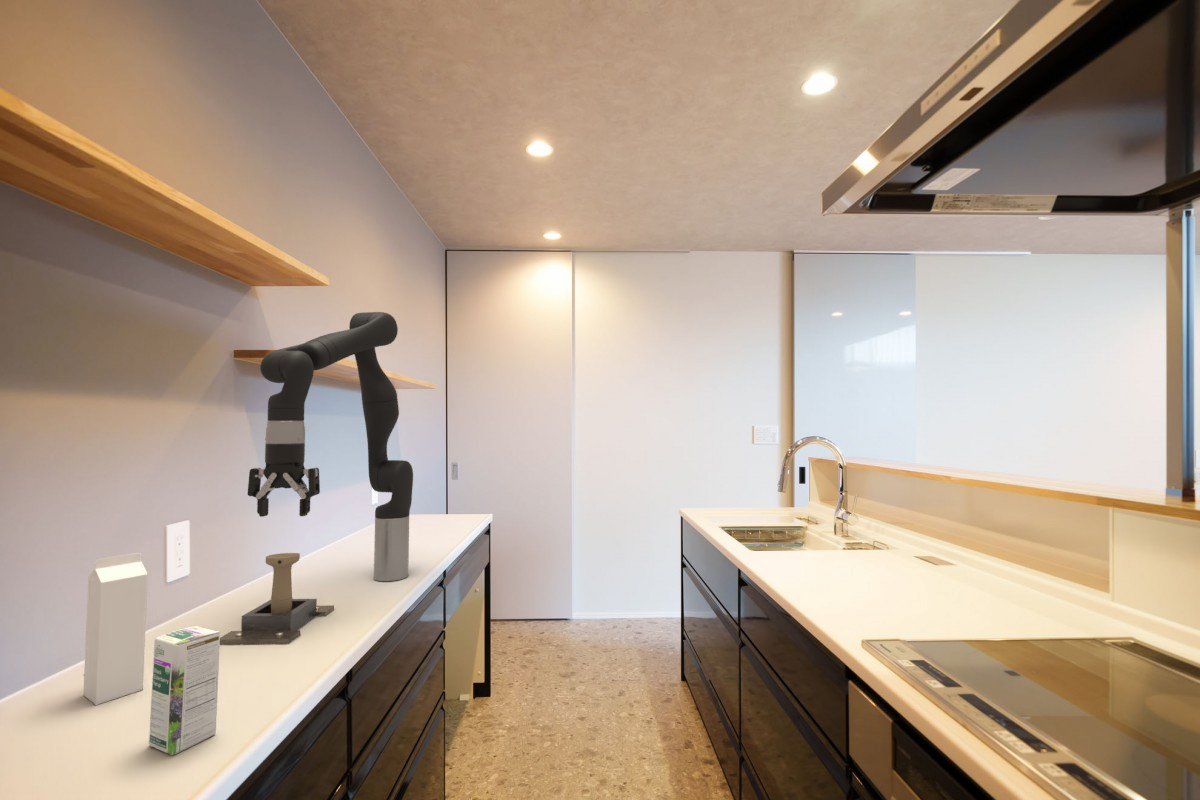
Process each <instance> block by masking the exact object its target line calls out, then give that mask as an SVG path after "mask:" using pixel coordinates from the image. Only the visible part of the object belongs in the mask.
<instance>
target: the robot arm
mask: <svg viewBox="0 0 1200 800" xmlns="http://www.w3.org/2000/svg"><path fill="white" fill-rule="evenodd" d="M398 329H399V328H398V324H397V320H396V319H395V317H394V316H392V314H390V313H387V312H382V311H371V312H370V311H368V312H357V313H355V314H352V316H351V318H350V321H349V329H346V330H340V331H336V332H331V333H326V334H323V335H320V336H318V337H315V338H313V339H309V340H307V341H305V342H304V343H300V344H296V345H292V346H287V347H283V348H280V349H276V350H273V351H271V352H269V353H268V354H266V355H265V356H264V357H263V358H262V360H261V362H260V367H259V369H260V373H261V375H262V376H263V377H264V378H265V379H266V380H267V381H268V382H272V383H276V384H283V386H282V388H281V391H280V392H278V393H275V394H272V395H270V396H269V398H268V401H267V422H266V423H267V424H266V428H265V439H264V440H265V443H264V444H265V448H264V464H265V467H264V468H261V467H254V468H251V469H249V474H248V483H247V496H248V497H253V498H256V499H257V500H256V502H257V503H256V506H257V507H256V509H257V510H256V512H257V514H258V515H259V517H262V518H263V517H267V516H268V515H269V502H270V501H269V497H268V496H269V495H271V492H273V491H274V490H275V489H281V488H283V489H292V490H293V491H294V492H296V494H297V495H298V496H299V497H300V499H299V512H298V514H299V516H300V517H305V516H308V514H309V513H310V511H311V499H312V497H314V496H317V495H319V494H320V493H321V489H320V488H321V487H320V485H321V482H320V468H319V467H311V468H305V465H304V464H305V456H306V454H305V452H306V448H305V447H306V427H305V402H306V400H307V397H308V393H309V391H310V387H311V384H312V381H313V379H314V378H313V377H314V371H319V370H322V369H325V368H326V367H329V366H332V365H333V364H336V363H338V362H339V361H342V360H343V359H346V358H349V357H350V356H353V355H354V357H355V362H356V363H355V364H356V368H357V372H358V378H359V379H358V380H359V385H360V392H361V402H362V403H361V404H362V410H363V417H364V422H365V430H366V431H365V432H366V439H367V442H366V443H367V459H368V461H367V462H368V463H367V465H368V466H367V467H368V477H369V483H370V487H371V489H372V490H373V491H375V492H379V493H391V498H390V500H389V501H388V502H386V503H383V504H381V505H378V506H377V507H376V508H375V511H374V550H373V551H374V552H373V554H374V555H373V579H374V581H377V582H396V581H400V580H403V579H406V578H408V576H409V558H410V555H409V553H410V542H409V541H410V510H411V506H412V503H413V502H412V500H413V487H414V486H413V485H414V483H413V482H414V471H413V467H412V465H411V464H412V463H410V462H409V461H408V460H399V459H396V460H394V459H389V458H388V442H389V438H390V436H391V434H392V432H393V430H394V428H395V426H396V424H397V422H398V419H399V414H400V407H399V401H398V393H397V391H396V388H395V386H394V384H393V382H392V381H391V380H390V378H389V377H388V376H387V374H386V373H385V372H384V370H383V369H382V367H381V365H380V364H379V361H378V358H377V352H376V348H378V347H384V346H385V347H386V346H388V345H390V344H392V343H394V341H395V340H396V338H397V335H398V332H399V331H398ZM304 476H305V477H306V479H308V481H307V482H308V485H307V484H306V483H305V481H304V480H303V478H304ZM263 477H265V478H266V480H265V482H264V483H263V484H262V486H261V481H262V478H263ZM307 486H308V487H307Z"/></svg>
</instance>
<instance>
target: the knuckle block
mask: <svg viewBox="0 0 1200 800" xmlns="http://www.w3.org/2000/svg"><path fill="white" fill-rule="evenodd" d="M317 600H318V599H317V598H292V608H291V611H290V612H289V613H271V599H270V600H268V601H266V602H264V603H262V604H261V605H259V606H257V607H255V608H254V609H251V610H250V611H248V612H246V613H245V614H243V615H241V625H240V626H241V627H240V629H241V630H230V631H229V632H228V633H226V634H224V635H222V636H220V646H222V645H223V646H228V645H229V646H231V645H232V646H233V645H234V646H235V645H237V646H238V645H239V646H240V644H243V645H289V644H291V643H292V642H294V641H295V640H296V639H297V638H299V637H301V630H300V629H301V628H303V627H304V626H306V625H307V624H308V623H310V622H311V621H312V620H313V619H315V618H316V617H321V616H325V617H326V616H328V615H329V614H331V613H332V612H333V611H335V605H333V604H332V605H317V604H318V603H317ZM330 612H331V613H330Z"/></svg>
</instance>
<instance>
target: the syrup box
mask: <svg viewBox="0 0 1200 800" xmlns="http://www.w3.org/2000/svg"><path fill="white" fill-rule="evenodd" d="M220 637H221V631H220V630H213V629H209V628H205V627H201V626H198V625H196V626H190V627H185V628H181V629H177V630H173V631H170V632H168V633H165V634H162V635H159V636H158V637H157V636H156V637H155V638H154V642H153V643H154V647H153V661H152V662H153V663H152V664H153V665H152V666H153V667H152V681H151V683H152V684H151V696H150V697H151V699H150V700H151V701H150V715H149V716H150V717H149V733H148V734H149V735H148V738H149V739H148V745H149V747H150V748H151V747H152V748H155V749H157V750H158V751H162V752H164V753H166V754H169V755H170V756H175V755H177V754H179V753H181V752H183V751H185V750H186V749H188V748H191V747H193V746H195V745H197V744H199V743H201V742H203V741H204V740H207V739H208V738H210V737H211V738H212V736H215V735H216V733H217V714H218V712H217V711H218V690H219V673H220V672H219V669H220V667H219V666H220V647H221V645H220Z"/></svg>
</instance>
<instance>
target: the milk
mask: <svg viewBox="0 0 1200 800" xmlns="http://www.w3.org/2000/svg"><path fill="white" fill-rule="evenodd" d="M142 559H143V555H142V553H141V552H134V553H127V554H121V555H115V556H109V557H103V558H101V557H100V558H97V559H96V560H95V564H94V570H93V571H92V572H91V573H90V574H89V576H88V581H87V582H88V585H87V602H86V603H87V604H86V624H85V625H86V628H85V630H86V631H85V644H84V645H85V647H84V649H85V650H84V667H83V668H84V670H83V672H84V673H83V689H82V690H83V693H82V695H83V696H84V697H86V698H87V699H88V700H89V701H90V702H91V703H93V704H94V705H96V706H98V705H101V704H104V703H107V702H109V701H112V700H116V699H118V698H123V697H124V696H128V695H131V694H135V693H137V692H140V690H141V691H142V690H144V675H145V655H146V653H145V649H146V648H145V647H146V629H147V627H146V626H147V601H148V599H147V598H148V580H149V579H148V578H149V577H148V571H147V570H146V569H147V568H146V567H145V566H144V563H143V560H142Z"/></svg>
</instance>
